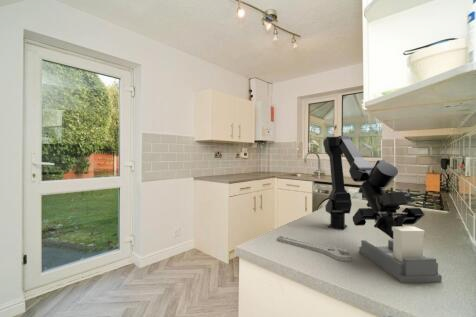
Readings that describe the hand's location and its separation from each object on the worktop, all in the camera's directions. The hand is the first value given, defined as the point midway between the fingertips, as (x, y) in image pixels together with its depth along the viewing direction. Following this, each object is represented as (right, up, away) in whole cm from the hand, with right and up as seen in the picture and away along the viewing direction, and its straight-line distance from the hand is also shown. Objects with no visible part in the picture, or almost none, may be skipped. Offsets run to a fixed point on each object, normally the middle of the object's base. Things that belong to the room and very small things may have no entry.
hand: (402, 244), depth 62 cm
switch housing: (0, -7, +3) cm, 7 cm away
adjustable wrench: (-20, -7, +15) cm, 26 cm away
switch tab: (0, -5, -2) cm, 5 cm away
